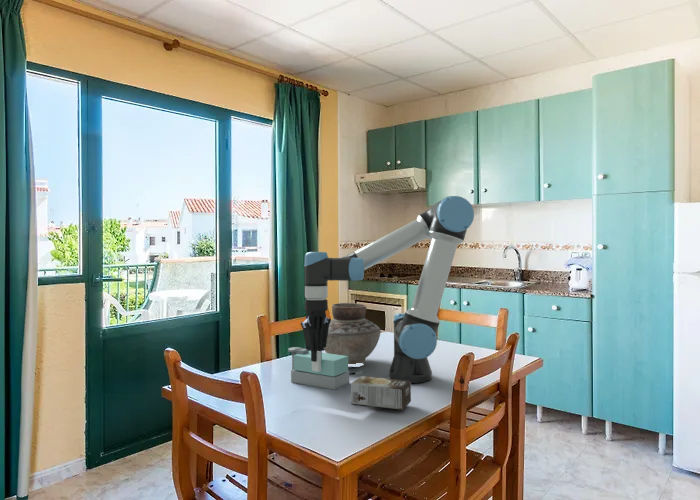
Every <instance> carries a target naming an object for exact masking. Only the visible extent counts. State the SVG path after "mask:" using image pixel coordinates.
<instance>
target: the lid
mask: <svg viewBox="0 0 700 500" xmlns="http://www.w3.org/2000/svg"><path fill="white" fill-rule="evenodd" d="M287 349H288V353H292V352H296V355H294V370H298V371H304V372H310V373H316V374H322V375H327V376H333V377H334V376H337V375H339V374H342V373H344V372H347V371H349V368H348V356H344V355H336V354H329V353H326V352H322V359H321V371H319V372H316V371H312V361H311V351H309V350H307V349H306V348H303V347H300V346H299V347H298V346H296V347H295V346H292V347H288V348H287Z"/></svg>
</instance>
